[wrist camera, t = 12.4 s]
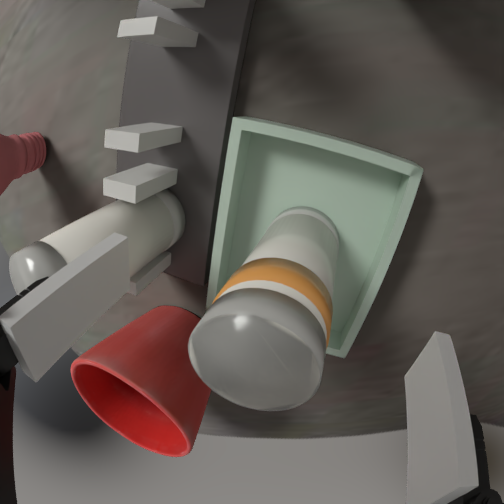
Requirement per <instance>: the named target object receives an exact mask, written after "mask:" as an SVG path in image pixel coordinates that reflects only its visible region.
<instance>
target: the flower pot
mask: <svg viewBox="0 0 504 504" xmlns="http://www.w3.org/2000/svg"><path fill="white" fill-rule="evenodd" d="M200 320H201V319H200V318H199V317H197V316H196V315H194V314H193V313H191V312H189V311H187V310H185V309H183V308H180V307H176V306H159V307H156V308H154V309H152V310H151V311H149V312H148V313H146V314H144V315H142V316H141V317H139V318H137V319H136V320H134V321H132V322H131V323H129V324H127V325H126V326H124V327H123V328H121V329H120V330H118V331H117V332H115V333H113V334H112V335H110V336H109V337H107V338H106V339H104V340H103V341H101V342H100V343H98V344H97V345H95V346H94V347H92V348H91V349H89V350H88V351H86V352H85V353H84V354H82V355H81V356H79V357H78V358H77V359H76V360H75V361H74V362H73V363H72V365H71V376H72V379H73V382H74V384H75V386H76V389H77V390H78V392H79V394H80V395H81V397H82V398H83V400H84V401H85V402H86V403H87V405H88V406H89V407H90V408H91V409H92V410H93V412H94V413H95V414H96V415H97V416H98V417H100V419H102V420H103V421H104V422H105V423H106V424H107V425H108V426H110V427H111V428H112V429H114V430H115V431H116V432H118V433H119V434H120V435H122V436H123V437H125V438H127V439H128V440H130V441H131V442H133V443H135V444H136V445H139V446H140V447H143V448H145V449H147V450H149V451H152V452H155V453H158V454H162V455H165V456H171V457H181V456H185V455H187V454H188V453H190V451H191V450H192V447H193V445H194V442H195V439H196V436H197V433H198V430H199V427H200V424H201V421H202V418H203V415H204V411H205V408H206V405H207V402H208V399H209V396H210V393H211V388H209V387H208V386H207V385H206V384H205V383H204V382H203V381H202V379H201V378H200V377H199V376H198V374H197V373H196V371H195V370H194V368H193V366H192V364H191V361H190V358H189V353H188V343H189V338H190V335H191V333H192V332H193V330H194V328H195V327H196V326H197V324H198V323H199V321H200Z"/></svg>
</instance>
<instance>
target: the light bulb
mask: <svg viewBox="0 0 504 504" xmlns="http://www.w3.org/2000/svg"><path fill="white" fill-rule="evenodd" d="M45 158H46V144H45V141H44V138H43V136H42V135H41V134H40V133H38V132H33V133H25V134H21V135H20V136H18V135H15V134H13V135H10V136H4V135H2V134H0V195H1V194H2V193H3V192H4V191H5V189H6V188H7V187H8V185H9V184H10V183H11V182H12V180H14V179H17V178H20V177H21V176H22V175H23V174H26V173H28V172H32V171H34V170H36V169H37V168H40V167H41V166H42V165H43V163H44V161H45Z"/></svg>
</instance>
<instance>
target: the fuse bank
mask: <svg viewBox="0 0 504 504" xmlns="http://www.w3.org/2000/svg"><path fill="white" fill-rule="evenodd" d="M255 1H256V0H139V4H138V8H137V12H136V17H135V19H127V20H121V21H120V26H119V31H118V36H117V37H119V38H124V39H129V40H131V41H130V47H129V53H128V59H127V65H126V71H125V78H124V86H123V94H122V103H121V112H120V123H119V127H117V128H111V129H105V145H104V147H106V148H113V149H118V150H117V172H116V174H114V175H111V176H108V177H106V178H103V195H105V196H109V197H113V198H116V201H117V200H119V199H120V200H124V201H127V202H131V203H134V204H136V203H138V202H140V201H142V200H144V199H146V198H148V197H150V196H152V195H154V194H156V193H158V192H160V191H162V190H164V189H166V188H167V189H168V190H170V191H171V192H172V193H173V194H174V195H175V196H176V197H177V198H178V200H179V201H180V203H181V205H182V207H183V210H184V213H185V219H186V225H185V230H184V233H183V235H182V237H181V238H180V240H179V241H177V242H176V243H175V244H174V245H172V246H171V247H170V248H168V249H167V250H166V251H164V252H162V253H161V254H159V255H158V256H157V257H156V258H154V259H153V260H152V261H151V262H149V263H148V264H147V265H146V266H144V267H143V268H142V269H141V270H139V271H138V272H137V273H136V274H134V275H133V276H132V277H131V278H130V287H131V289H130V290H129V291H128V293H130V294H133V295H135V296H137V295H138V294H139V293H140V292H141V291H142V290H144V289H145V288H146V287H147V286H148V285H149V284H150V283H151V282H152V281H153V280H154V279H155V278H156V277H158V276H159V275H160V274H161V273H162V272H164V273H167V274H170V275H173V276H175V277H178V278H181V279H184V280H187V281H189V282H192V283H195V284H198V285H201V286H204V285H205V284H206V283H207V282H208V280H209V276H210V268H211V260H212V252H213V244H214V237H215V230H216V222H217V215H218V208H219V201H220V194H221V188H222V181H223V174H224V168H225V162H226V155H227V149H228V143H229V137H230V131H231V125H232V119H233V113H234V108H235V102H236V96H237V91H238V85H239V80H240V75H241V69H242V64H243V59H244V54H245V49H246V44H247V39H248V34H249V29H250V24H251V19H252V15H253V10H254V5H255Z"/></svg>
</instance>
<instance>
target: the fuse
mask: <svg viewBox="0 0 504 504" xmlns="http://www.w3.org/2000/svg"><path fill="white" fill-rule="evenodd" d="M185 225H186V219H185V213H184V210H183V207H182V205H181V203H180V201H179V200H178V198H177V197H176V196H175V195H174V194H173V193H172V192H171V191H170V190H168V189H167V188H166V189H164V190H162V191H160V192H158V193H156V194H154V195H152V196H150V197H148V198H146V199H144V200H142V201H140V202H138V203H136V204H134V203H131V202H127V201H124V200H120V199H119V200H117V201H115V202H113V203H111V204H109V205H106V206H104V207H102V208H100V209H98V210H96V211H94V212H92V213H90V214H88V215H86V216H84V217H82V218H80V219H78V220H76V221H74V222H72V223H71V224H69V225H67V226H65V227H63V228H61V229H59V230H57V231H56V232H54V233H52V234H50V235H48V236H46V237H45V238H43V239H41V240H39V241H36V242H34V243H32V244H30V245H28V246H27V247H25V248H23V249H22V250H20V251H18V252H16V253H15V254H13V255H12V256H11V258H10V262H9V270H10V276H11V280H12V283H13V286H14V289H15V291H16V294H17V295H19V293H20V292H22V291H23V290H24V289H25V290H26V289H27V287H28V286H30V285H31V284H32V283H34V282H35V281H37V280H39V279H42V278H45V277H47V276H48V277H51V276H52V275H53V274H55V273H56V272H57V271H59V270H60V269H62V268H63V267H64V266H66V265H67V264H69V263H70V262H72V261H73V260H74V259H76V258H77V257H79V256H80V255H82V254H83V253H85V252H86V251H88V250H89V249H90V248H92V247H93V246H95V245H96V244H98V243H99V242H101V241H102V240H104V239H106V238H107V237H109V236H110V235H112V234H113V233H118V234H120V235H123V236H126V237H128V249H129V271H130V278H131V277H132V276H133V275H134V274H136V273H137V272H138V271H139V270H141V269H142V268H143V267H144V266H146V265H147V264H148V263H149V262H151V261H152V260H153V259H154V258H156V257H157V256H158V255H159V254H161V253H162V252H164V251H166V250H167V249H168V248H170V247H171V246H172V245H174V244H175V243H176V242H177V241H179V240H180V238H181V237H182V235H183V233H184V230H185Z"/></svg>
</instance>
